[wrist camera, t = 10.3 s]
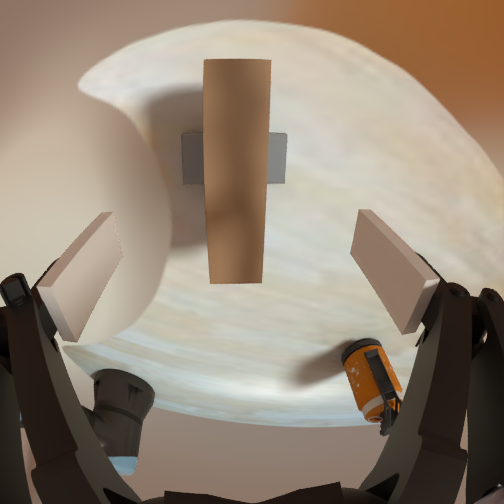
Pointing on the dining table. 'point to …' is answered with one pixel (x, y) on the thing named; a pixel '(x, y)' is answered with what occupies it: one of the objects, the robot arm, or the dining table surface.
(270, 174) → the fulcrum
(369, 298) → the dining table surface
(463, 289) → the robot arm
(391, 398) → the canister
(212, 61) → the walnut bar
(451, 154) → the dining table surface
